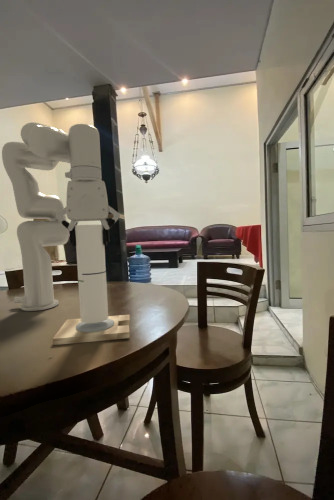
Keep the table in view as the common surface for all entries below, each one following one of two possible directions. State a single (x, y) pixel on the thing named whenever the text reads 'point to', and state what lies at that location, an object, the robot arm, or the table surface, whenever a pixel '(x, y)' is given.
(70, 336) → the notched board
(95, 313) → the cylindrical container
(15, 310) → the table surface
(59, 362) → the table surface
